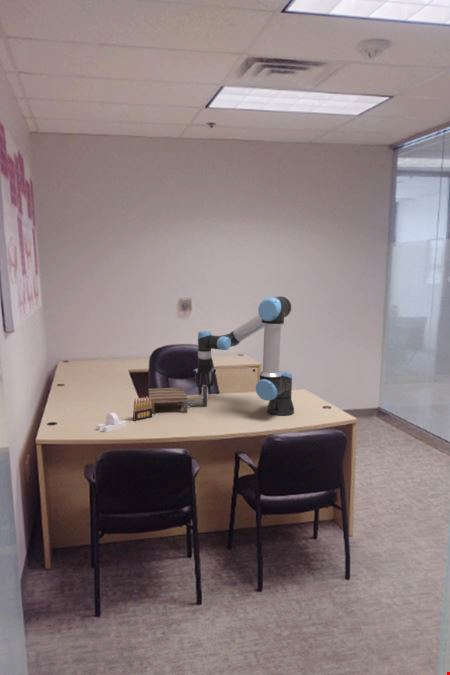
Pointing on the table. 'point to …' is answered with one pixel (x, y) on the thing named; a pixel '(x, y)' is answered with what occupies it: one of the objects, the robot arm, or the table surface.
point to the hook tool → (203, 402)
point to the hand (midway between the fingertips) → (204, 398)
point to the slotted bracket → (111, 423)
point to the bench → (168, 396)
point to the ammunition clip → (142, 409)
